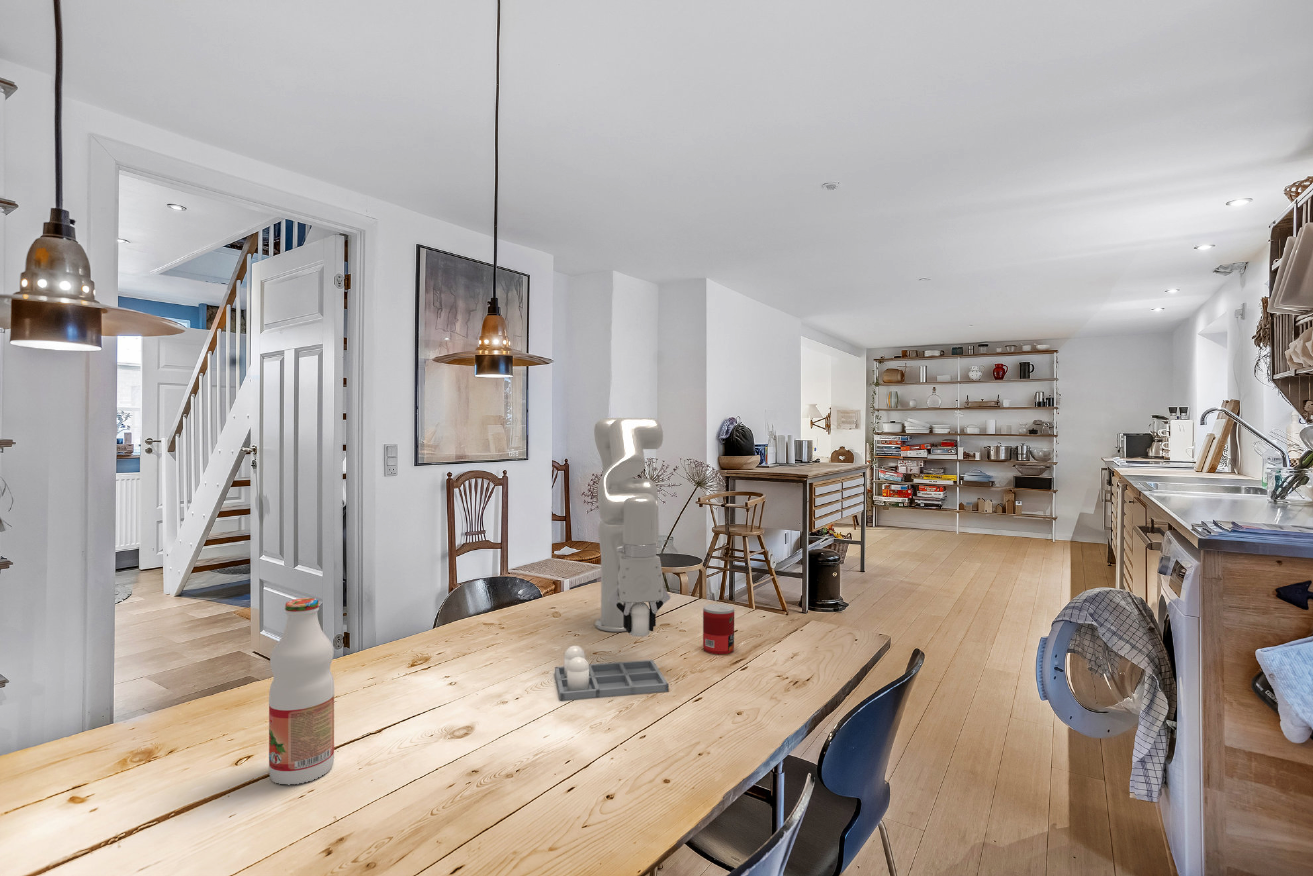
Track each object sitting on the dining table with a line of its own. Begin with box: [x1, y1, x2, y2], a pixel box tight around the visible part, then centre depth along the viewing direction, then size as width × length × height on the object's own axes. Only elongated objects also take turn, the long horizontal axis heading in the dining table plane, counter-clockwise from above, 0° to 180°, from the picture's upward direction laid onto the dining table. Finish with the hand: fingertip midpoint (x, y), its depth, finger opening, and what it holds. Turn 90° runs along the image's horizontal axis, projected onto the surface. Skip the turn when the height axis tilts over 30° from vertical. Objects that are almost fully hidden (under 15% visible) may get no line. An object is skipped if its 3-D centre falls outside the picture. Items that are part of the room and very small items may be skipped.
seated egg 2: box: [567, 657, 590, 691], centre depth 140 cm, size 5×5×7 cm
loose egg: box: [628, 602, 651, 638], centre depth 150 cm, size 5×5×7 cm
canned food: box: [702, 603, 735, 655], centre depth 168 cm, size 8×8×11 cm
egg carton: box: [554, 659, 670, 702], centre depth 145 cm, size 16×23×2 cm
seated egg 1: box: [563, 645, 586, 678], centre depth 147 cm, size 5×5×7 cm
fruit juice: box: [268, 597, 335, 786], centre depth 107 cm, size 9×9×28 cm
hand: (639, 629), depth 150 cm, fingers closed on loose egg, 4 cm apart
